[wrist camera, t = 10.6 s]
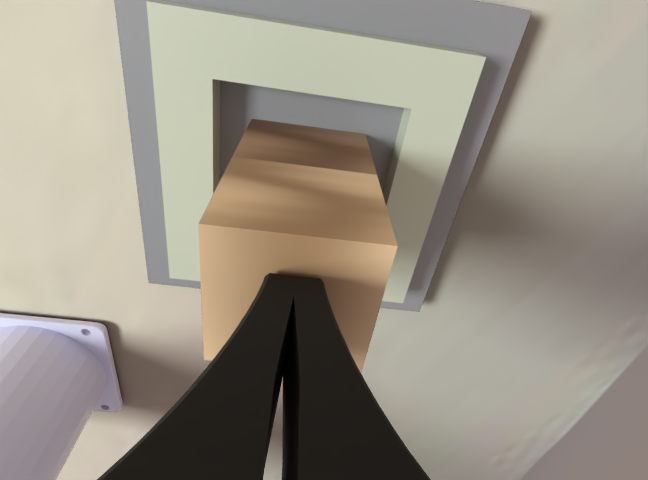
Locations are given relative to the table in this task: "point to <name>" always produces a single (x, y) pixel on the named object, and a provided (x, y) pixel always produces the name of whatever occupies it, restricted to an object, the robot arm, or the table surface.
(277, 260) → the tan block
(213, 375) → the robot arm
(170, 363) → the table surface
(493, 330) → the table surface
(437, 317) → the table surface
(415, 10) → the plate
